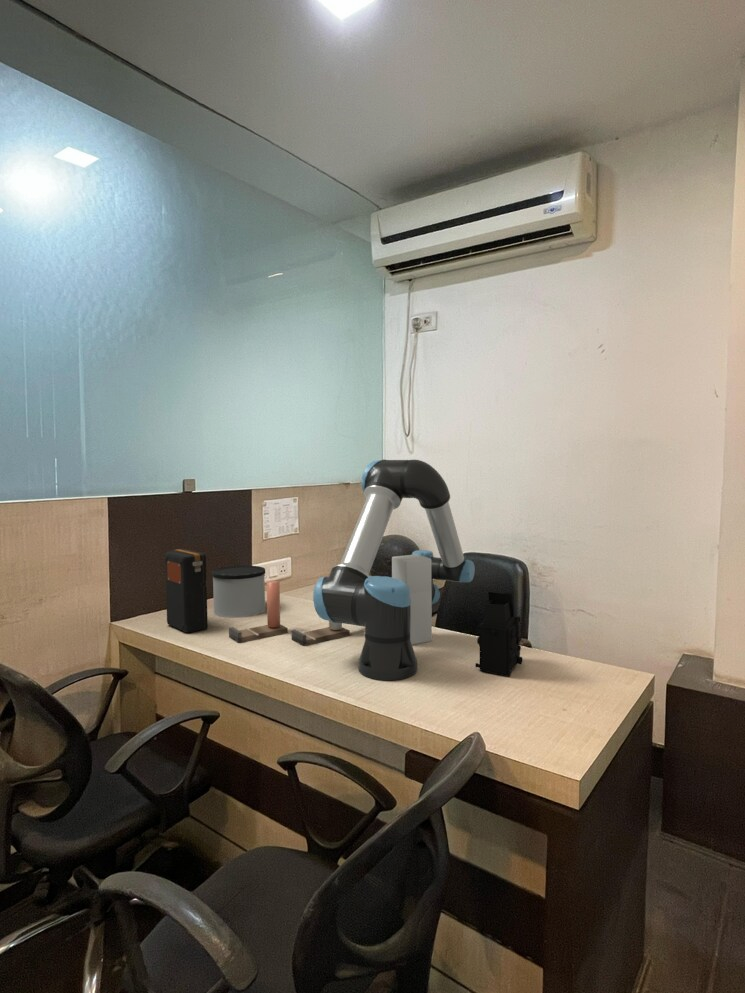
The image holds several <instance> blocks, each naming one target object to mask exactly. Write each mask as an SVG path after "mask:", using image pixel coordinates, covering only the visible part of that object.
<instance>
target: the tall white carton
mask: <svg viewBox="0 0 745 993" xmlns="http://www.w3.org/2000/svg"><path fill="white" fill-rule="evenodd" d="M391 577H392V578H396V579H399V580H402V581H403V582H405V583H406V584H407V585H408V586H409V589H410V599H411V605H410V640H411V643H412V646H413V645H419V644H425V643H430V642H432V640H433V639H432V638H433V630H432V628H433V627H432V626H433V624H432V623H433V621H432V619H433V618H432V616H433V615H432V608H433V607H432V605H433V604H432V590H431V558H427V557H424V556H420V555H416V554H415V555H412V554H407V555H397V556H392V557H391Z"/></svg>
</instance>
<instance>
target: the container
mask: <svg viewBox="0 0 745 993" xmlns="http://www.w3.org/2000/svg"><path fill="white" fill-rule="evenodd" d="M265 574H266V568H265V567H262V566H259V565H230V566H223V567H218V568H216V569H213V570H212V571H211V577H212V585H213V615H215V616H217V617H220V618H221V617H222V618H233V619H234V618H246V617H252V616H256V615H260V614H263V613H264V612H265V611H266V596H265V594H266V592H265V591H266V587H265Z"/></svg>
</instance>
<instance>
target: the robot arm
mask: <svg viewBox="0 0 745 993" xmlns="http://www.w3.org/2000/svg"><path fill="white" fill-rule="evenodd" d="M361 479H362V481H361V488H362V489H361V490H362V492H363V496H364V498H365V501H364V505H363V507H362V509H361V511H360V514H359V516H358V519H357V522H356V524H355V526H354V529H353V531H352V533H351V536H350V539H349V540H348V543H347V545H346V548H345V551H344V553H343V555H342V558H341V560H340V563H339V564H336V565H334V566H332V568H331V571H330V573H329V574H328V576H322V577H321V578H319V579H317V581H316V583H315V585H314V589H313V596H312V597H313V598H312V599H313V600H312V601H313V602H312V603H313V606H314V610H315V612H316V614H317V615H318V617H319V618H321V619H322V620H324V621H328V622H329V621H331V622H334V623H336V622H337V623H342V624H343V625H344V624H345V625H351V626H352V625H353V626H356V627H357V626H358V627H362V628H363V627H364V630H365V631H364V633H365V634H364V636H365V638H364V639H365V640H364V642H363V646H362V649H361V653H360V656H359V659H358V672H359V673H360V675H363V676H364V677H367V678H370V679H372V680H379V681H396V680H404V679H406V678H410V677H412V676H413V675H415V674H417V672H418V659H417V656H416V653H415V650H414V647H413V645H412V643H411V640H410V605H411V599H410V589H409V586H408V585H407V584H406V583H405V582H403V581H402V580H399V579H396V578H392V576H385V575H383V576H381V575H373V576H370V575H369V574H370V572H371V570H372V567H373V564H374V561H375V559H376V557H377V554H378V550H379V548H380V546H381V542H382V540H383V538H384V534H385V532H386V529H387V526H388V524H389V521H390V518H391V516H392V513H393V510H396V509H398V508H399V507H400V505H401V502H402V501H403V499H416V500H417V501H418V502H419V505H420V507H421V508H423V509H424V510H425V513H426V517H427V519H428V522H429V526H430V528H431V532H432V535H433V537H434V541H435V543H436V544H435V545H436V547H437V550H438V554H439V557H436V556H434V554H433V551H431V550H427V549H420V550H419V549H418V550H414V551H413V552H412V554H411V555H415V554H416V555H420V556H424V557H427V558H431V590H432V605H434V604H436V603H437V602H438V601H439V600H440V596H441V593H440V590H439V589H440V588H439V587H438V585H437V584H435V583H434V580H436V581H437V580H438V581H439V580H440V581H448V582H456V583H471V582H472V581H473V580H474V577H475V574H476V572H475V571H476V570H475V569H476V568H475V563H474V561H472V560H471V559H465V556H464V551H463V550H462V545H461V542H460V538H459V534H458V531H457V528H456V524H455V520H454V516H453V514H452V510H451V507H450V504H449V503H450V499H451V494H450V491H449V490H450V489H449V488H448V485H447V483H446V481H445V479H444V477H442V475H441V474H440V473H439V471H437V470H436V469H435V468H434V467H433V466H432V465H430V463H427V462H426V461H423V460H420V459H380V460H379V459H378V460H372V461H371V462H369V463H368V464H367V465H366V466H365V467H364V470H363V472H362V475H361Z"/></svg>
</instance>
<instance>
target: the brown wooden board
mask: <svg viewBox="0 0 745 993" xmlns="http://www.w3.org/2000/svg"><path fill="white" fill-rule="evenodd" d="M290 633H291V641H293V642H295V643H296V644H298V645H300V646H302V647H304V646H308V645H313V644H317V643H321V642H326V641H330V640H335V639H339V638H344V637H348V636H351V634H350V633H351V632H350V630H349V629H347V628H346V627H345V628H344V627H343V626H342V629H339V630H331V629H329V626H328V627H323V628H318V629H313V630H309V631H304V632H303V631H299V630H297V629H292V630H291V632H290Z"/></svg>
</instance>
